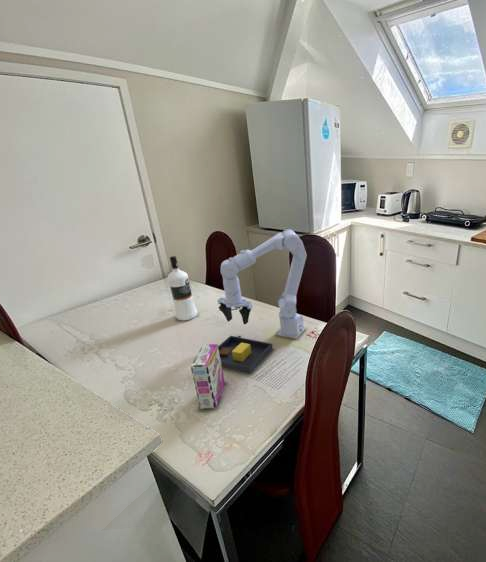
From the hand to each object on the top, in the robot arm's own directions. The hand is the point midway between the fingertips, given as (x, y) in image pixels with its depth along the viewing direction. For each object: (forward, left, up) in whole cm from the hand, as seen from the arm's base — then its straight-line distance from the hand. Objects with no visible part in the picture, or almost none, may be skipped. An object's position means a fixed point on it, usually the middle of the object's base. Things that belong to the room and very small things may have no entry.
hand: (237, 321), depth 125 cm
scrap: (0, +9, -9) cm, 13 cm away
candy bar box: (-10, +29, -10) cm, 32 cm away
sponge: (-7, +9, -9) cm, 14 cm away
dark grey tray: (-6, +9, -9) cm, 14 cm away
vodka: (+37, -10, -10) cm, 40 cm away
